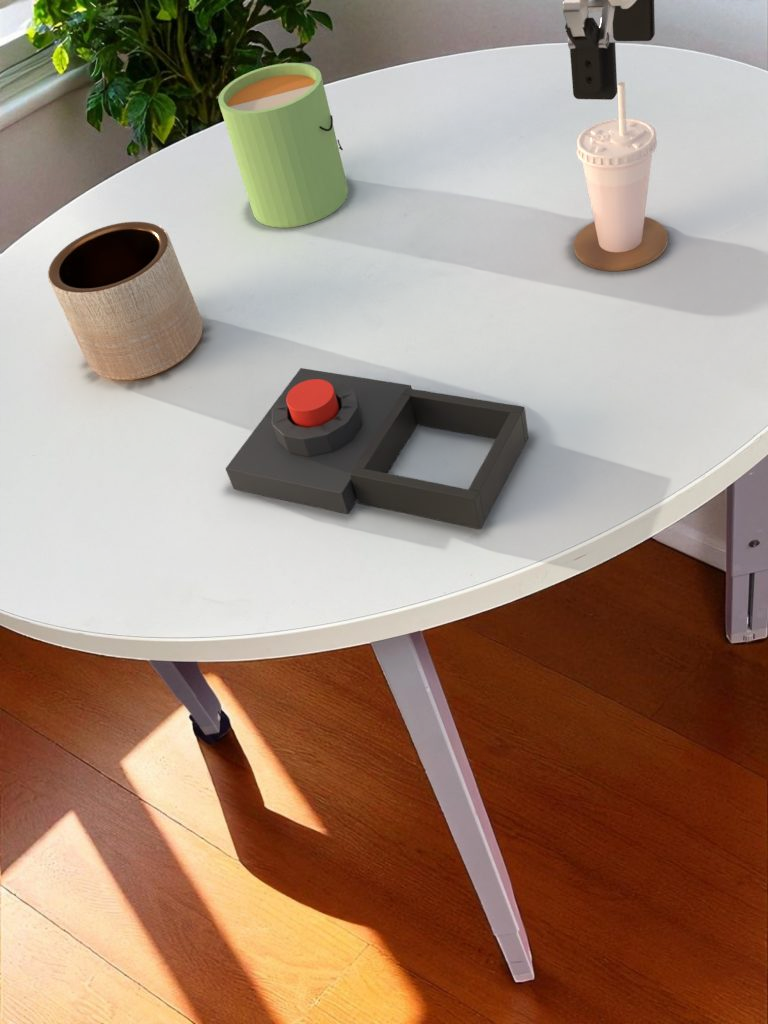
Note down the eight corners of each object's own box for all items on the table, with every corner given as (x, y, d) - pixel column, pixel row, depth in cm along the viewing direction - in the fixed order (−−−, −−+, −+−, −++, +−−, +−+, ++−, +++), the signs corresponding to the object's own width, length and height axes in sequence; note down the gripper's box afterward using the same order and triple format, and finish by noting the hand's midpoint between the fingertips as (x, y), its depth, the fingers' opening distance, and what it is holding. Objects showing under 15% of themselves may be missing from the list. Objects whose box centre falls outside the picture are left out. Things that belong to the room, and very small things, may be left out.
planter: (66, 376, 96) (20, 287, 89) (131, 304, 102) (93, 216, 95) (164, 392, 91) (124, 299, 85) (226, 315, 98) (194, 224, 91)
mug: (358, 211, 106) (331, 95, 98) (256, 237, 106) (220, 123, 98) (342, 154, 115) (316, 43, 107) (248, 178, 115) (215, 69, 107)
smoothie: (663, 254, 90) (662, 96, 81) (587, 266, 91) (576, 111, 82) (652, 215, 95) (649, 60, 85) (579, 226, 96) (568, 74, 86)
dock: (529, 437, 79) (525, 406, 77) (480, 529, 73) (474, 499, 71) (412, 417, 83) (405, 387, 81) (358, 503, 78) (349, 474, 75)
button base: (416, 406, 84) (407, 366, 81) (348, 514, 77) (336, 475, 74) (307, 388, 88) (295, 350, 85) (233, 489, 81) (217, 451, 78)
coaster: (678, 223, 94) (678, 217, 94) (652, 275, 90) (652, 270, 89) (590, 216, 98) (590, 211, 97) (561, 266, 93) (561, 261, 93)
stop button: (347, 400, 80) (342, 382, 79) (325, 432, 78) (319, 414, 77) (306, 393, 82) (300, 375, 81) (283, 424, 80) (277, 406, 78)
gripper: (620, -149, 64) (630, 123, 76) (695, -234, 74) (693, 18, 86) (503, -139, 67) (530, 121, 79) (590, -222, 77) (602, 20, 89)
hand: (615, 67), depth 82 cm, fingers open, 9 cm apart
